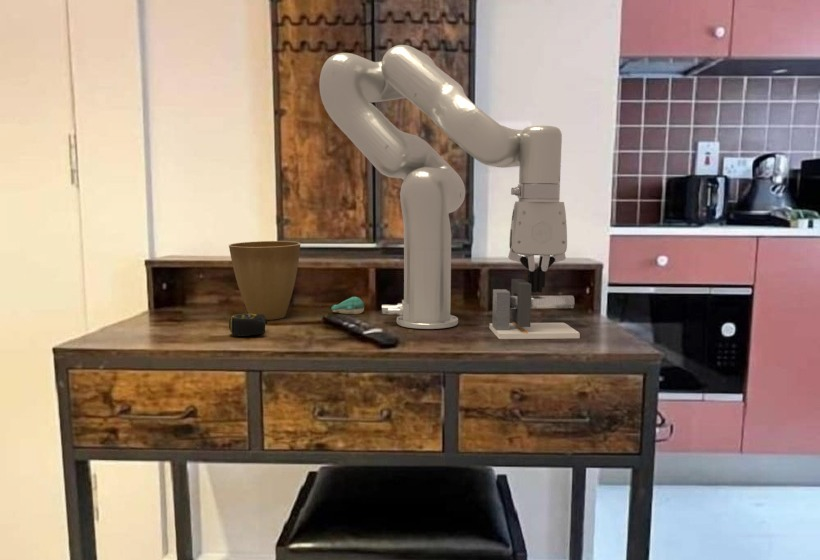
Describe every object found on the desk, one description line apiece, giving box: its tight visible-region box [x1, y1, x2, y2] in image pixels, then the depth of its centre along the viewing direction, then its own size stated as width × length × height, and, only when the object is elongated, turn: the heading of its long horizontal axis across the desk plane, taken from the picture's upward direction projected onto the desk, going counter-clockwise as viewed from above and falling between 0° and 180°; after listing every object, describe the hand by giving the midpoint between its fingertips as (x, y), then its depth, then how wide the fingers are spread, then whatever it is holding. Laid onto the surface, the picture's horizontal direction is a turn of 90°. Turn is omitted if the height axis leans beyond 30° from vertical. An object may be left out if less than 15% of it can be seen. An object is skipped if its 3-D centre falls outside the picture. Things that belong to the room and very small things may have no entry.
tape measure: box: [228, 313, 268, 337], centre depth 123 cm, size 7×7×4 cm
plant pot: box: [228, 240, 301, 321], centre depth 140 cm, size 15×15×16 cm
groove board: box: [489, 322, 581, 340], centre depth 125 cm, size 15×10×1 cm, turn 93°
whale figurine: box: [331, 296, 365, 315], centre depth 147 cm, size 6×7×4 cm
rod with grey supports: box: [491, 288, 575, 330], centre depth 125 cm, size 15×4×7 cm, turn 93°
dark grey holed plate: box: [510, 278, 532, 327], centre depth 124 cm, size 2×8×8 cm, turn 3°
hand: (535, 291), depth 124 cm, fingers closed
